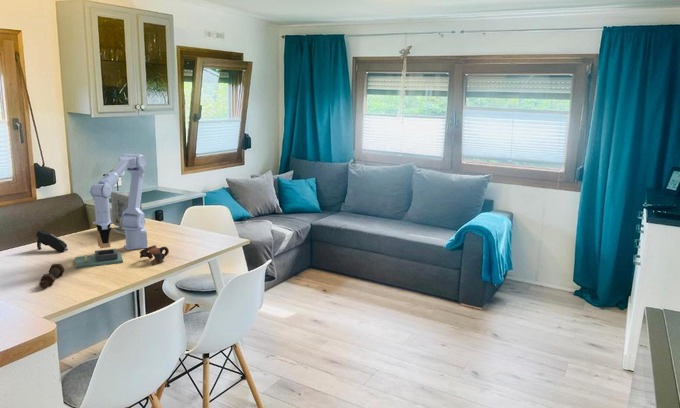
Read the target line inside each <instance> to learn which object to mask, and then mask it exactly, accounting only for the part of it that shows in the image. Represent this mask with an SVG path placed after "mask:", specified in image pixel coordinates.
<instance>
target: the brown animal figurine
mask: <svg viewBox="0 0 680 408" xmlns="http://www.w3.org/2000/svg"><path fill="white" fill-rule="evenodd" d="M163 251H164V253H163ZM169 251H170V250H169V248H168V247H167V246H162V247H157V245H155V244H154V245H151V246H149V247H148V248H142V249H141V250H140V251H139V254H140V255H139V258H140V259H142V258H148V259H149V260H150V263H151V264H152V266H155V265H157V264H161V263H164V259H165V258H166V257H167V256H168V255H169V253H170V252H169ZM153 258H154V259H153Z"/></svg>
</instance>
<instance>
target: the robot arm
mask: <svg viewBox="0 0 680 408" xmlns="http://www.w3.org/2000/svg"><path fill="white" fill-rule="evenodd" d="M118 158H119V159H118V163H117V164H116V165H115V167H114V168H113V170H112V171H108V172H106V173H105V175H103V177H102V178H101V179H99V181H98V182H96V183H94V184H92V185H91V186H90V190H89V193H90V196H91V197H92V200H93V202H94V212H95V213H94V214H95V221H92V224H93V225H95V226H96V230H97V232H98V234H99V233H100V236H101V239H102V243H103V244H104V243H108V241H109V236H110V234H111V230H113V228H112V227H111V224H112V219H111V209H110V208H111V206H110V197H111V192H113V190H114V189H113V188H114V187H115V186H116V184H117V183H118V182H119V180H120V179H119V177H120V176H121V175H122V174H124V173H125V172H126V171H127V172H128V173H130V174H131V175H130V178H131V179H130V185H129V186H130V187H129V193H128V194H129V201H128V208H127V209H126V210H124V211H123V213H122V217H121V219H120V224H121V226H122V227H123V228H122V229H123V230H125V235H124V236H125V237H124V238H125V244H124V248H125V250H127V251H129V250H139V249H146V248H148V233H147V228H146V227H145V225H146V219H145V212H143V210H142V211H141V210H140V203H141V204H142V194H143V183H144V176H145V173H146V167H147V159H146V157H145V156H144V154H140V153H139V154H136V153H122V154H121V156H119V157H118ZM131 214H136V215H137V216H136V215H131Z"/></svg>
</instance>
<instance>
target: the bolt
mask: <svg viewBox="0 0 680 408" xmlns="http://www.w3.org/2000/svg"><path fill="white" fill-rule="evenodd" d="M47 272H48V273H44V274H43V275H42V276H41V277H40V280H39V283H38V285H39V287H40V288H42V289H46V288H48V287H51V286H53V285H54V283H55V281H56V278H57V277H58V278H59V277H60V278H61V277H63V274H65V268H64V266H63V265H62V264H61V263H52V264H51V265H50V267H49V268H48V271H47Z"/></svg>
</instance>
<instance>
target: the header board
mask: <svg viewBox="0 0 680 408" xmlns="http://www.w3.org/2000/svg"><path fill="white" fill-rule="evenodd" d="M120 263H121V264H122V263H124V260H123V257H122V253H121V252H120V251H117V249H116V248H110V249H109V248H106V249H101V250H94V254H93V255H87V254H84V255H83V256H76V257H75V269H81V268H89V267H90V268H91V267H100V266H105V265H106V266H107V265H114V264H120Z"/></svg>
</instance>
